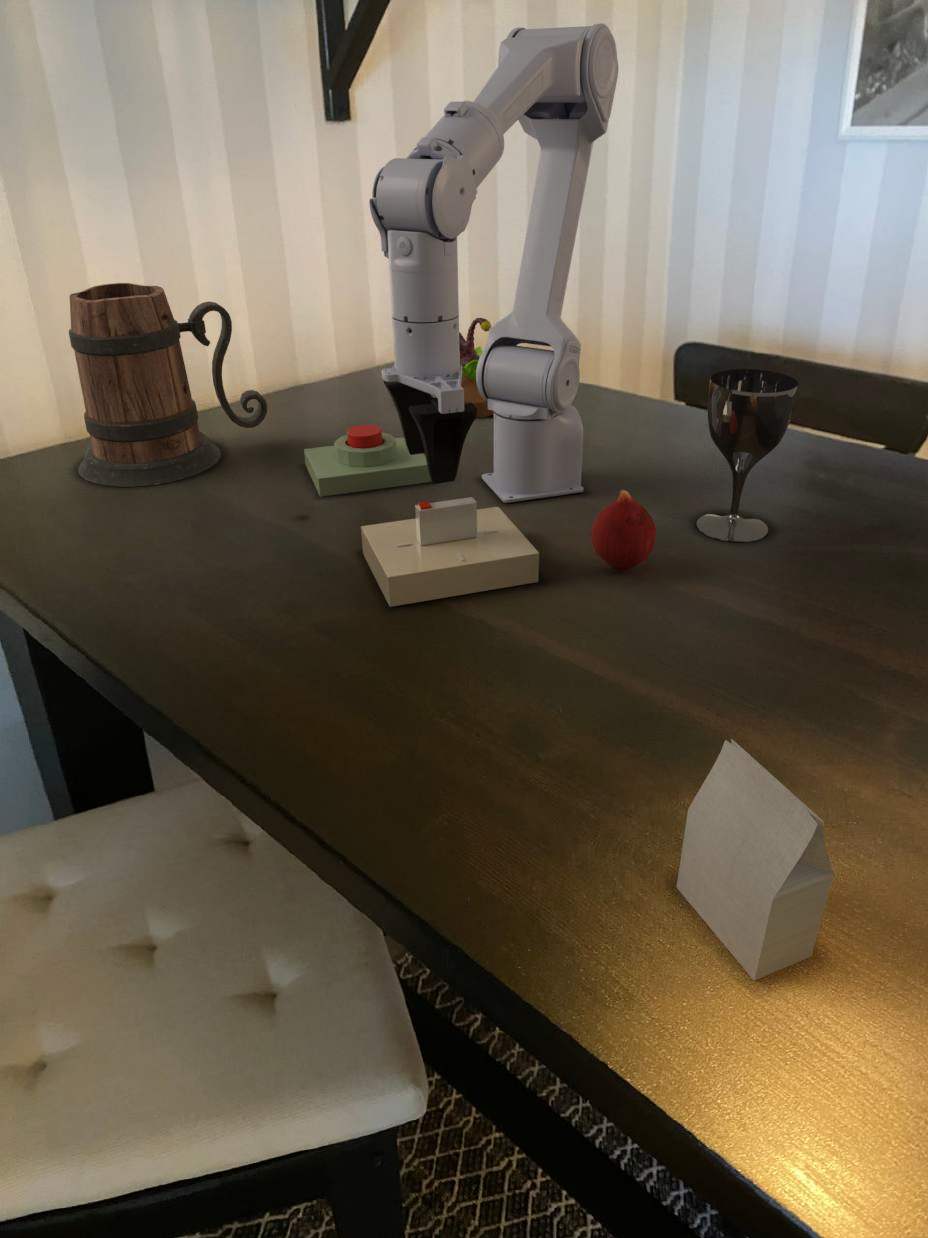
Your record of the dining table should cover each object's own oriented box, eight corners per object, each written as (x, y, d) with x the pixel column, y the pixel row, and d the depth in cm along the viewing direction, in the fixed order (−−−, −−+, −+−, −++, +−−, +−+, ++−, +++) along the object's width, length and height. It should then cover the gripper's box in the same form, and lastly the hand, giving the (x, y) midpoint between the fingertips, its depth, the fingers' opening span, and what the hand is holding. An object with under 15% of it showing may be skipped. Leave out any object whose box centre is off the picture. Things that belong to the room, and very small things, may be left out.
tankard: (86, 496, 101) (41, 312, 91) (71, 450, 114) (30, 285, 104) (289, 461, 110) (268, 289, 100) (253, 422, 123) (232, 266, 113)
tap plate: (498, 533, 91) (498, 504, 90) (538, 582, 82) (539, 551, 81) (362, 554, 88) (360, 524, 86) (389, 607, 79) (387, 575, 77)
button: (378, 437, 106) (377, 422, 105) (386, 448, 103) (385, 433, 102) (345, 441, 105) (343, 426, 104) (351, 452, 102) (350, 437, 101)
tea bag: (754, 981, 46) (787, 835, 40) (676, 887, 51) (697, 748, 46) (811, 956, 47) (851, 812, 42) (729, 867, 52) (755, 730, 47)
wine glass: (778, 518, 93) (803, 373, 86) (765, 549, 87) (792, 396, 80) (701, 506, 96) (719, 365, 89) (684, 535, 90) (702, 387, 83)
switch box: (472, 531, 85) (472, 494, 83) (477, 537, 84) (477, 499, 82) (416, 539, 83) (414, 502, 81) (420, 546, 82) (419, 508, 80)
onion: (656, 561, 85) (664, 482, 81) (646, 589, 81) (655, 507, 77) (596, 553, 87) (601, 475, 83) (582, 580, 82) (587, 499, 78)
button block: (410, 453, 112) (408, 421, 110) (432, 482, 103) (431, 448, 101) (305, 466, 108) (302, 434, 106) (320, 497, 100) (316, 463, 98)
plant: (494, 425, 120) (494, 340, 114) (376, 404, 129) (371, 323, 123) (561, 387, 134) (564, 310, 129) (451, 370, 144) (450, 297, 138)
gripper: (360, 302, 82) (371, 446, 89) (402, 339, 70) (410, 501, 77) (435, 296, 84) (439, 437, 91) (487, 331, 72) (488, 490, 79)
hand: (431, 466), depth 84 cm, fingers open, 7 cm apart
